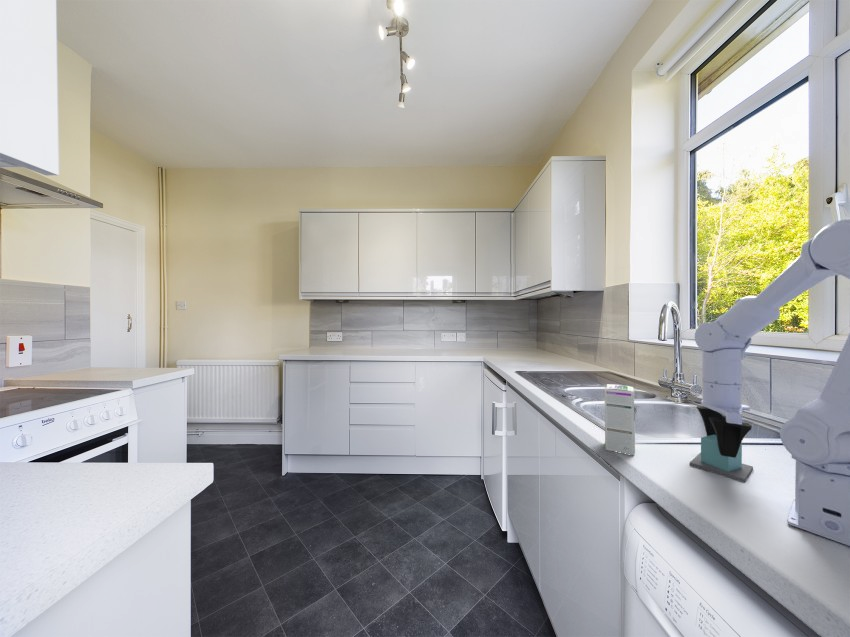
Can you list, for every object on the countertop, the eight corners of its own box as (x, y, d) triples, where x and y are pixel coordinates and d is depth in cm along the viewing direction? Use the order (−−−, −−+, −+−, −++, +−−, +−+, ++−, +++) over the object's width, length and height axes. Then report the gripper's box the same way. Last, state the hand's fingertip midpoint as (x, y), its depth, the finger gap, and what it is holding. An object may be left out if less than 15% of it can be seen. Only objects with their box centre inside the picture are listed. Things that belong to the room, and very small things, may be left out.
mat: (744, 482, 57) (744, 479, 57) (689, 465, 64) (689, 462, 64) (752, 469, 62) (753, 466, 62) (700, 454, 68) (700, 452, 68)
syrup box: (635, 456, 68) (635, 391, 67) (604, 450, 71) (604, 387, 71) (634, 447, 72) (635, 385, 72) (605, 441, 76) (605, 382, 75)
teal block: (728, 471, 60) (728, 446, 60) (700, 461, 64) (700, 437, 64) (741, 467, 61) (741, 442, 61) (713, 457, 65) (714, 434, 65)
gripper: (765, 392, 54) (765, 468, 54) (734, 377, 67) (734, 439, 67) (712, 387, 58) (712, 459, 58) (692, 374, 70) (692, 433, 70)
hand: (721, 448), depth 63 cm, fingers open, 7 cm apart
